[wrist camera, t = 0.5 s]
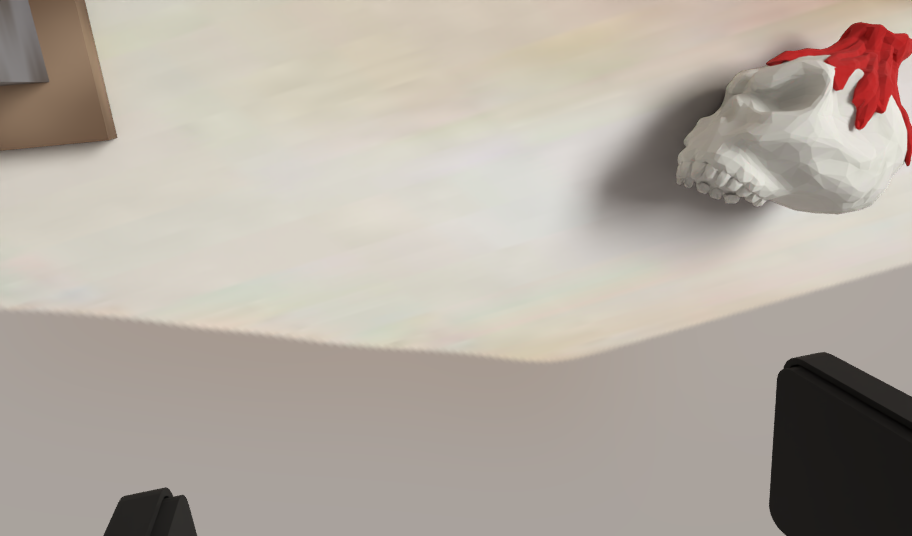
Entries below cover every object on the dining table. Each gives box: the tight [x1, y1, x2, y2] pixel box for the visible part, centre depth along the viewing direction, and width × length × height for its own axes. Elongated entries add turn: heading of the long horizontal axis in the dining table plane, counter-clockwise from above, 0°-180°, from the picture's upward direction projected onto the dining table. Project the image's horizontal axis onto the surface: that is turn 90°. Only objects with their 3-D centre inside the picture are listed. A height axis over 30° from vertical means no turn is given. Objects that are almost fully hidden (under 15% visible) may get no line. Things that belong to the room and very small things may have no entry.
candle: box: [676, 22, 912, 214], centre depth 38 cm, size 9×11×15 cm
